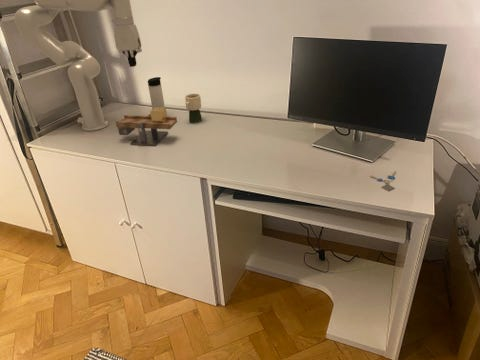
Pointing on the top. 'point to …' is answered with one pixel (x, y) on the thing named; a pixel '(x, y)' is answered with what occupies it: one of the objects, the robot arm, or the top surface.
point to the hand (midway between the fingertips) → (133, 65)
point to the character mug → (193, 107)
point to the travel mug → (156, 92)
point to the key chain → (387, 186)
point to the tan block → (159, 115)
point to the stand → (148, 136)
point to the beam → (131, 122)
